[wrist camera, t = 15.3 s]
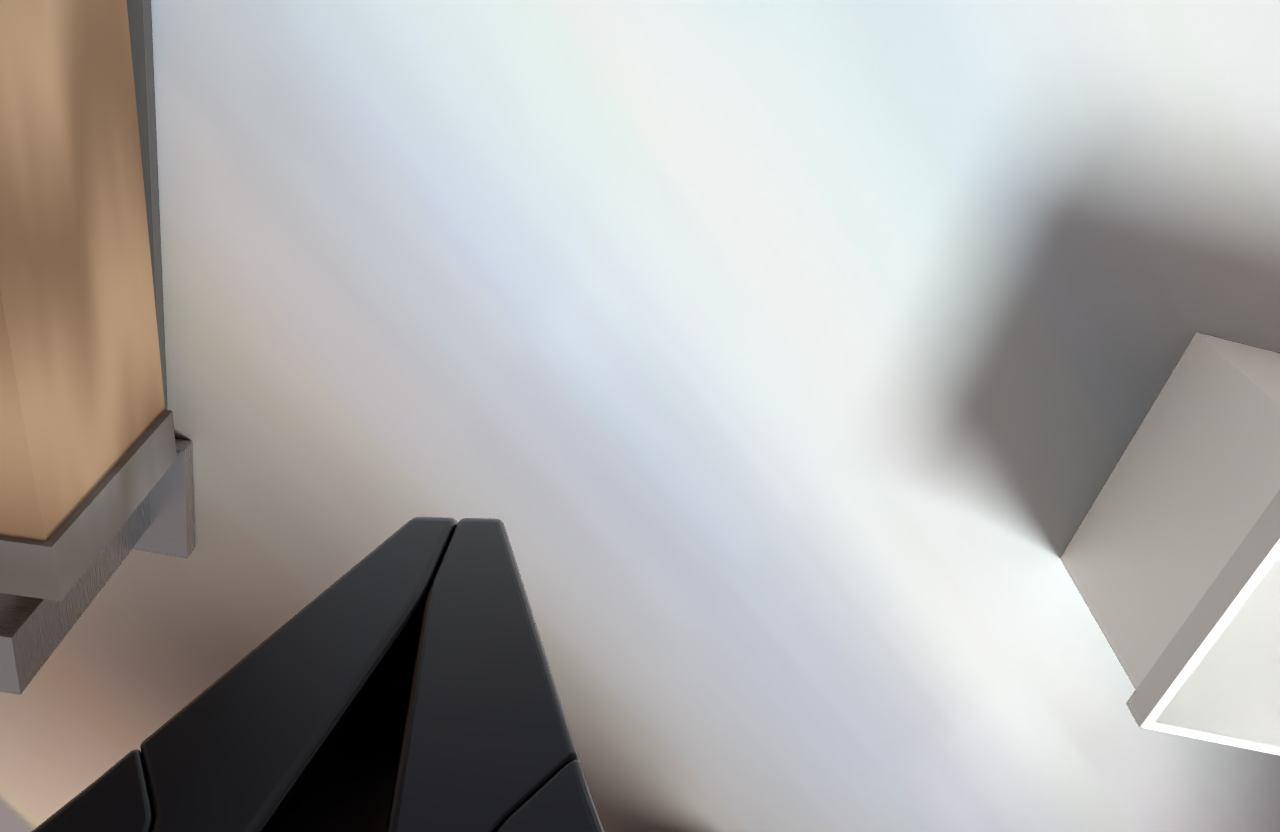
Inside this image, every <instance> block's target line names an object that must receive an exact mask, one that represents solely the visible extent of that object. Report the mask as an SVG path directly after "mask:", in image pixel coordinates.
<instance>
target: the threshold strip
mask: <svg viewBox="0 0 1280 832" xmlns="http://www.w3.org/2000/svg"><path fill="white" fill-rule="evenodd" d="M127 10H128V21H129V32H130V42H131V53H132V64H133V74H134V85H135V95H136V106H137V117H138V127H139V138H140V149H141V159H142V170H143V180H144V191H145V202H146V212H147V223H148V234H149V244H150V255H151V265H152V276H153V287H154V297H155V308H156V319H157V329H158V340H159V350H160V361H161V372H162V382H163V393H164V404H165V410H167V386H166V361H165V337H164V312H163V288H162V263H161V239H160V214H159V190H158V165H157V141H156V116H155V92H154V67H153V43H152V18H151V0H127Z"/></svg>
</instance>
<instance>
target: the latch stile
mask: <svg viewBox="0 0 1280 832" xmlns="http://www.w3.org/2000/svg"><path fill="white" fill-rule="evenodd" d="M175 446H176V457H177V459H176V460H175V461H174V462H173V464H172V465H171V466H170V467H169V469H168V470H167V471H166V472H165V474H164V475H163V476H162V477H161V479H160V480H159V481H158V482H157V484H156V485H155V486H154V487H153V488H152V490H151V491H150V492H149V493H148V495H147V496H146V497H145V498H144V500H143V501H142V502H141V503H140V505H139V506H138V507H137V508H136V509H135V511H134V512H133V513H132V514H131V516H130V517H129V518H128V519H127V521H126V522H125V523H124V524H123V526H122V527H121V528H120V529H119V531H118V532H117V533H116V534H115V535H114V537H113V538H112V539H111V540H110V542H109V543H108V544H107V545H106V547H105V548H104V549H103V550H102V552H101V553H100V554H99V555H98V557H97V558H96V559H95V560H94V561H93V563H92V564H91V565H90V566H89V568H88V569H87V570H86V571H85V573H84V574H83V575H82V576H81V578H80V579H79V580H78V581H77V582H76V584H75V585H74V586H73V587H72V589H71V590H70V591H69V592H68V594H67V595H66V596H65V597H64V599H63V600H62V601H56V600H48V599H41V598H33V597H26V596H19V595H11V594H4V593H0V691H1V692H7V693H14V694H21V693H22V692H23V691H24V689H25V688H26V687H27V685H28V684H29V683H30V681H31V680H32V679H33V678H34V676H35V675H36V674H37V672H38V671H39V670H40V668H41V667H42V666H43V664H44V663H45V662H46V661H47V659H48V658H49V657H50V655H51V654H52V653H53V651H54V650H55V649H56V648H57V646H58V645H59V644H60V642H61V641H62V640H63V638H64V637H65V636H66V634H67V633H68V632H69V631H70V629H71V628H72V627H73V625H74V624H75V623H76V621H77V620H78V619H79V618H80V616H81V615H82V614H83V612H84V611H85V610H86V608H87V607H88V606H89V604H90V603H91V602H92V601H93V599H94V598H95V597H96V595H97V594H98V593H99V591H100V590H101V589H102V588H103V586H104V585H105V584H106V582H107V581H108V580H109V578H110V577H111V576H112V574H113V573H114V572H115V571H116V569H117V568H118V567H119V565H120V564H121V563H122V561H123V560H124V559H125V558H126V556H127V555H128V554H129V552H130V551H131V550H132V549H136V550H142V551H148V552H154V553H160V554H165V555H171V556H177V557H183V558H188V557H189V555H190V554H191V552H192V551H193V549H194V548H195V540H194V502H193V464H192V441H186V440H181V439H175Z"/></svg>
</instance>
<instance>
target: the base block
mask: <svg viewBox="0 0 1280 832" xmlns="http://www.w3.org/2000/svg"><path fill="white" fill-rule="evenodd" d="M1060 559H1061V561H1062V563H1063V565H1064V566H1065V568H1066V570H1067V572H1068V573H1069V575H1070V577H1071V578H1072V580H1073V582H1074V584H1075V585H1076V587H1077V589H1078V591H1079V592H1080V594H1081V596H1082V597H1083V599H1084V601H1085V603H1086V604H1087V606H1088V608H1089V610H1090V611H1091V613H1092V615H1093V617H1094V618H1095V620H1096V622H1097V623H1098V625H1099V627H1100V629H1101V630H1102V632H1103V634H1104V636H1105V637H1106V639H1107V641H1108V643H1109V644H1110V646H1111V648H1112V649H1113V651H1114V653H1115V655H1116V656H1117V658H1118V660H1119V662H1120V663H1121V665H1122V667H1123V669H1124V670H1125V672H1126V674H1127V675H1128V677H1129V679H1130V681H1131V682H1132V684H1133V686H1134V688H1135V689H1136V690H1135V692H1134V693H1133V695H1132V696H1131V697H1130V699H1129V700H1128V702H1127V703H1126V704H1127V706H1128V708H1129V709H1130V711H1131V713H1132V715H1133V717H1134V718H1135V720H1136V722H1137V724H1138V726H1139V727H1140V728H1144V729H1149V730H1154V731H1159V732H1164V733H1169V734H1174V735H1179V736H1184V737H1189V738H1194V739H1199V740H1204V741H1209V742H1214V743H1219V744H1224V745H1229V746H1234V747H1239V748H1244V749H1249V750H1254V751H1259V752H1264V753H1269V754H1274V755H1279V756H1280V353H1276V352H1272V351H1268V350H1264V349H1260V348H1256V347H1253V346H1249V345H1245V344H1241V343H1237V342H1233V341H1229V340H1225V339H1221V338H1217V337H1213V336H1209V335H1205V334H1201V333H1197V332H1196V334H1195V335H1194V337H1193V339H1192V340H1191V342H1190V344H1189V345H1188V347H1187V349H1186V350H1185V352H1184V354H1183V355H1182V357H1181V359H1180V360H1179V362H1178V364H1177V365H1176V367H1175V369H1174V370H1173V372H1172V374H1171V375H1170V377H1169V379H1168V380H1167V382H1166V384H1165V385H1164V387H1163V389H1162V390H1161V392H1160V393H1159V395H1158V397H1157V398H1156V400H1155V402H1154V403H1153V405H1152V407H1151V408H1150V410H1149V412H1148V413H1147V415H1146V417H1145V418H1144V420H1143V422H1142V423H1141V425H1140V427H1139V428H1138V430H1137V432H1136V433H1135V435H1134V437H1133V438H1132V440H1131V442H1130V443H1129V445H1128V447H1127V448H1126V450H1125V452H1124V453H1123V455H1122V457H1121V458H1120V460H1119V462H1118V463H1117V465H1116V467H1115V468H1114V470H1113V472H1112V473H1111V475H1110V477H1109V478H1108V480H1107V482H1106V483H1105V485H1104V486H1103V488H1102V490H1101V491H1100V493H1099V495H1098V496H1097V498H1096V500H1095V501H1094V503H1093V505H1092V506H1091V508H1090V510H1089V511H1088V513H1087V515H1086V516H1085V518H1084V520H1083V521H1082V523H1081V525H1080V526H1079V528H1078V530H1077V531H1076V533H1075V535H1074V536H1073V538H1072V540H1071V541H1070V543H1069V545H1068V546H1067V548H1066V550H1065V551H1064V553H1063V555H1062V556H1061V558H1060Z"/></svg>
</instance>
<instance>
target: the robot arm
mask: <svg viewBox="0 0 1280 832" xmlns="http://www.w3.org/2000/svg"><path fill="white" fill-rule="evenodd" d="M32 832H604V829H603V827H602V824H601V821H600V818H599V816H598V813H597V810H596V808H595V805H594V802H593V799H592V797H591V794H590V791H589V787H588V784H587V781H586V778H585V775H584V772H583V769H582V766H581V763H580V762H579V761H578V754H577V751H576V748H575V745H574V742H573V739H572V736H571V733H570V729H569V726H568V723H567V720H566V717H565V714H564V711H563V708H562V704H561V701H560V698H559V695H558V692H557V689H556V686H555V683H554V679H553V676H552V673H551V670H550V667H549V664H548V661H547V657H546V654H545V651H544V648H543V645H542V642H541V639H540V636H539V632H538V629H537V626H536V623H535V620H534V617H533V614H532V611H531V607H530V604H529V601H528V598H527V595H526V592H525V589H524V586H523V582H522V579H521V576H520V573H519V570H518V567H517V564H516V561H515V557H514V554H513V551H512V548H511V545H510V542H509V539H508V536H507V532H506V529H505V526H504V524H503V522H502V521H501V520H499V519H483V518H465V519H462V520H460V521H459V522H458V523H457V521H456V520H455V519H453V518H439V517H416V518H413V519H412V520H410V521H409V522H407V523H406V524H405V525H404V526H403V527H401V528H400V529H399V530H398V531H397V532H395V533H394V534H393V535H392V536H390V537H389V538H388V539H387V540H386V541H384V542H383V543H382V544H381V545H380V546H378V547H377V548H376V549H375V550H374V551H372V552H371V553H370V554H369V555H368V556H366V557H365V558H364V559H363V560H362V561H360V562H359V563H358V564H357V565H356V566H354V567H353V568H352V569H351V570H350V571H348V572H347V573H346V574H345V575H343V576H342V577H341V578H340V579H339V580H337V581H336V582H335V583H334V584H333V585H331V586H330V587H329V588H328V589H327V590H325V591H324V592H323V593H322V594H321V595H319V596H318V597H317V598H316V599H315V600H313V601H312V602H311V603H310V604H309V605H307V606H306V607H305V608H304V609H302V610H301V611H300V612H299V613H298V614H296V615H295V616H294V617H293V618H292V619H290V620H289V621H288V622H287V623H286V624H284V625H283V626H282V627H281V628H280V629H278V630H277V631H276V632H275V633H274V634H272V635H271V636H270V637H269V638H268V639H266V640H265V641H264V642H263V643H262V644H260V645H259V646H258V647H257V648H255V649H254V650H253V651H252V652H251V653H249V654H248V655H247V656H246V657H245V658H243V659H242V660H241V661H240V662H239V663H237V664H236V665H235V666H234V667H233V668H231V669H230V670H229V671H228V672H227V673H225V674H224V675H223V676H222V677H221V678H219V679H218V680H217V681H216V682H215V683H213V684H212V685H211V686H210V687H208V688H207V689H206V690H205V691H204V692H202V693H201V694H200V695H199V696H198V697H196V698H195V699H194V700H193V701H192V702H190V703H189V704H188V705H187V706H186V707H184V708H183V709H182V710H181V711H180V712H178V713H177V714H176V715H175V716H174V717H172V718H171V719H170V720H169V721H167V722H166V723H165V724H164V725H163V726H161V727H160V728H159V729H158V730H157V731H155V732H154V733H153V734H152V735H151V736H149V737H148V738H147V739H146V740H145V741H143V742H142V744H141V752H140V751H139V750H133V751H131V752H130V753H128V754H127V755H126V756H125V757H124V758H122V759H121V760H120V761H119V762H118V763H116V764H115V765H114V766H113V767H112V768H110V769H109V770H108V771H107V772H105V773H104V774H103V775H102V776H101V777H99V778H98V779H97V780H96V781H95V782H93V783H92V784H91V785H90V786H88V787H87V788H86V789H85V790H83V791H82V792H81V793H80V794H78V795H77V796H76V797H75V798H73V799H72V800H71V801H69V802H68V803H67V804H66V805H64V806H63V807H62V808H61V809H59V810H58V811H57V812H56V813H54V814H53V815H52V816H51V817H49V818H48V819H47V820H46V821H44V822H43V823H42V824H41V825H39V826H38V827H37V828H35V829H34V830H33V831H32Z"/></svg>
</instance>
